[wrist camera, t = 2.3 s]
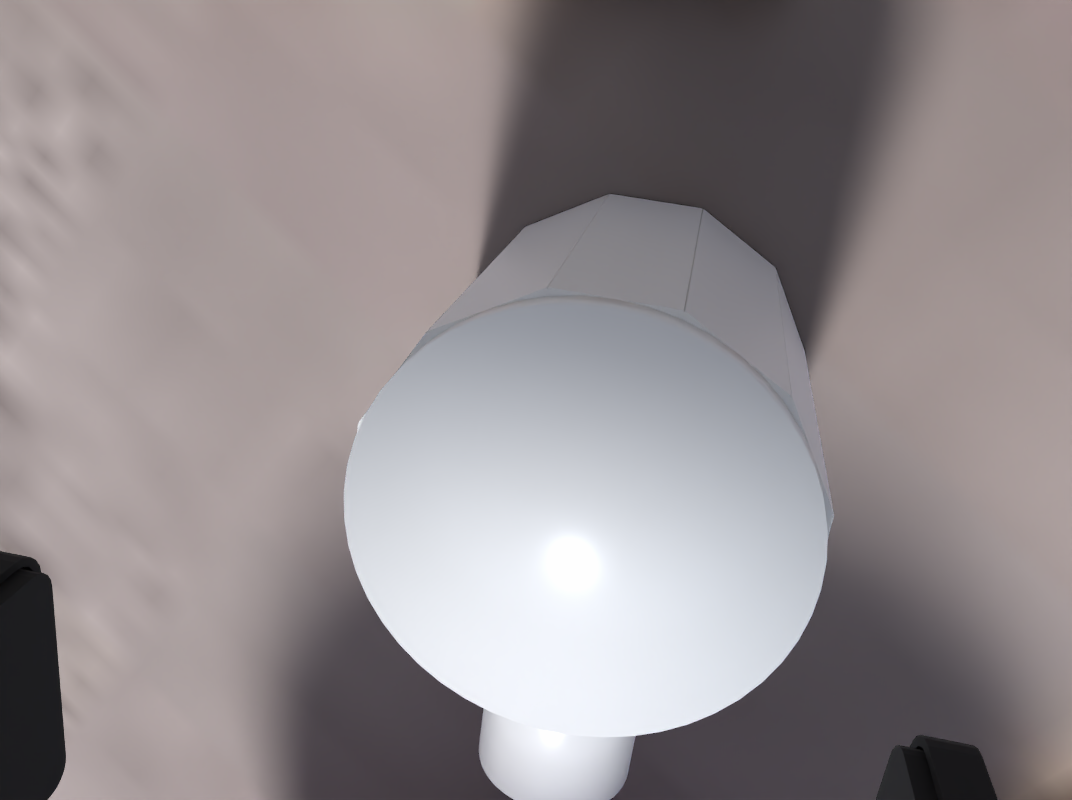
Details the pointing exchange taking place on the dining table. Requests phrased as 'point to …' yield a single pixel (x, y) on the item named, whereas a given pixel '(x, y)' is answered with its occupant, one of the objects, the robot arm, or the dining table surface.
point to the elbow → (596, 491)
